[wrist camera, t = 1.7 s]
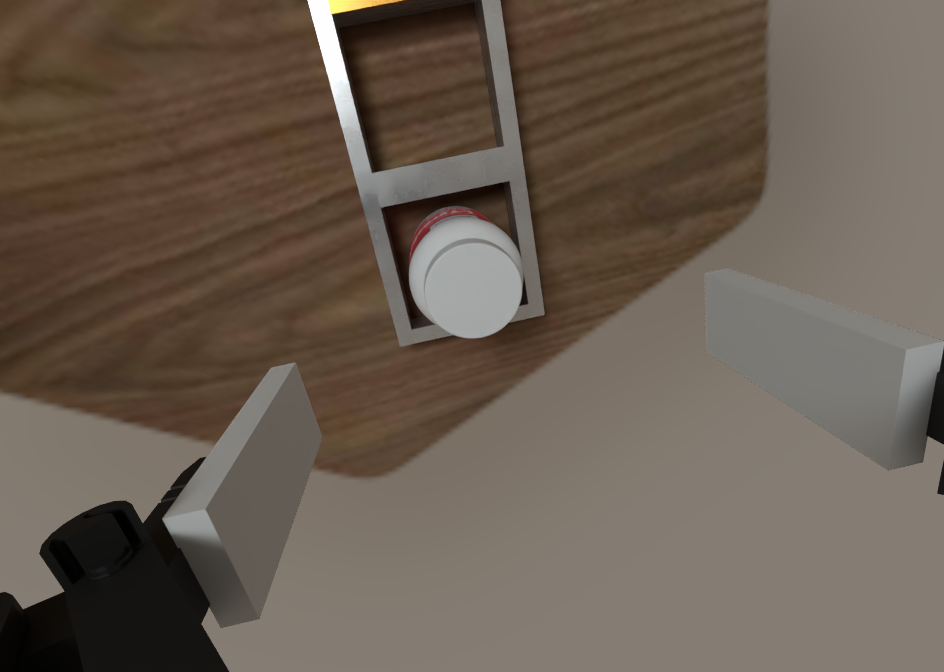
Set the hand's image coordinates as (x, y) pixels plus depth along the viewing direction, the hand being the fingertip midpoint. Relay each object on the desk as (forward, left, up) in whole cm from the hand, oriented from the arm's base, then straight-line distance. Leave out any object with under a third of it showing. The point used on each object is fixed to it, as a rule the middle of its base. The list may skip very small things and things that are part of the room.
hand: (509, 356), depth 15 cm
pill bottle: (0, 0, -19) cm, 19 cm away
